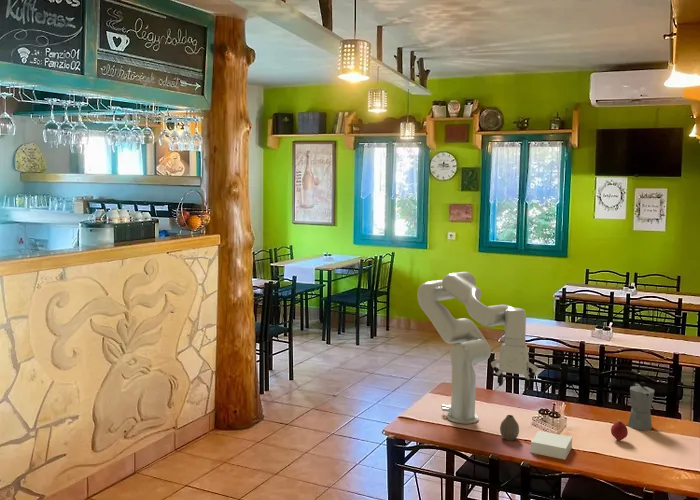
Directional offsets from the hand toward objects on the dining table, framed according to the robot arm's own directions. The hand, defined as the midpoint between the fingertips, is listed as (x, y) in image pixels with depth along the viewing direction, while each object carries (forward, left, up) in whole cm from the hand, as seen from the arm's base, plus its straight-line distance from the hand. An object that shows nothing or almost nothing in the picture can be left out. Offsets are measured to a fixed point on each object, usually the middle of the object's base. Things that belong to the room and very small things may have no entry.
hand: (513, 387), depth 247 cm
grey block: (+15, -4, -20) cm, 25 cm away
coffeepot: (+40, +39, -20) cm, 60 cm away
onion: (+35, +18, -20) cm, 45 cm away
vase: (-1, -1, -20) cm, 20 cm away
